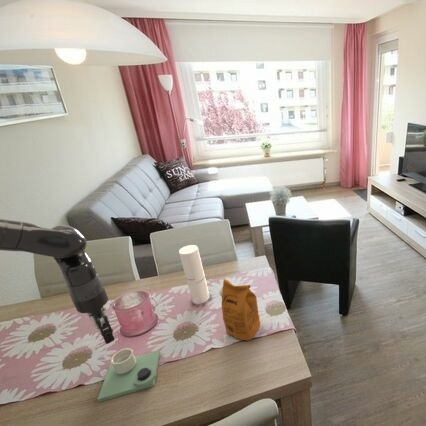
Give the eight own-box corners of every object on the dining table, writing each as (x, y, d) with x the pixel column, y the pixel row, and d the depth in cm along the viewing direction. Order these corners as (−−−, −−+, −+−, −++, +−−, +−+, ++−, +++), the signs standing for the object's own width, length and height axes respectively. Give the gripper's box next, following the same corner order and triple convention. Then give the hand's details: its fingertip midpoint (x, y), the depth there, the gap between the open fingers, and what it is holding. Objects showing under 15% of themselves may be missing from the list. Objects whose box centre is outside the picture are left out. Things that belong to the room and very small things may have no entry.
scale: (98, 404, 86) (94, 397, 85) (111, 366, 98) (108, 359, 97) (155, 387, 91) (153, 380, 89) (162, 352, 102) (160, 346, 101)
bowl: (113, 377, 93) (108, 366, 91) (118, 361, 98) (114, 351, 96) (134, 371, 94) (130, 360, 92) (138, 356, 100) (134, 346, 98)
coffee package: (239, 316, 117) (230, 270, 108) (264, 325, 112) (257, 278, 103) (221, 334, 109) (210, 286, 100) (248, 345, 104) (239, 296, 95)
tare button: (137, 382, 90) (136, 378, 89) (140, 373, 92) (138, 369, 92) (149, 378, 90) (147, 374, 90) (151, 370, 93) (149, 366, 93)
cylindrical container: (195, 293, 131) (182, 245, 121) (211, 292, 131) (199, 244, 121) (190, 304, 124) (176, 254, 114) (207, 303, 125) (195, 253, 115)
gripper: (65, 288, 85) (85, 330, 91) (77, 310, 76) (98, 355, 82) (96, 276, 90) (112, 316, 96) (110, 295, 81) (127, 338, 88)
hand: (106, 334), depth 89 cm, fingers open, 8 cm apart
